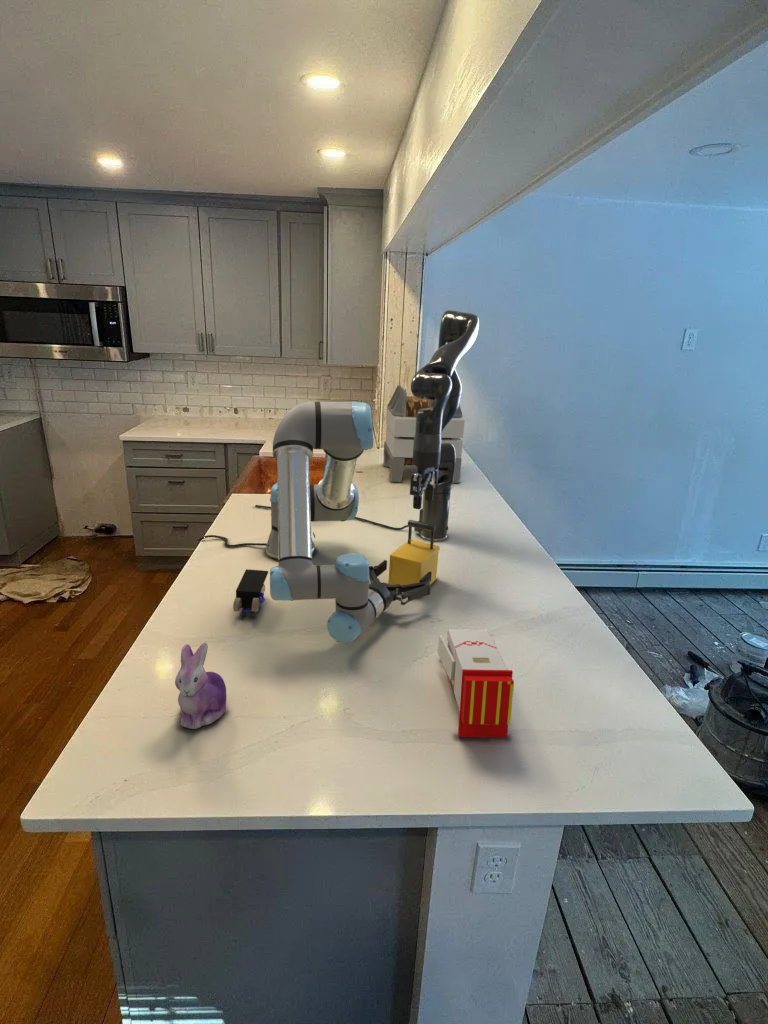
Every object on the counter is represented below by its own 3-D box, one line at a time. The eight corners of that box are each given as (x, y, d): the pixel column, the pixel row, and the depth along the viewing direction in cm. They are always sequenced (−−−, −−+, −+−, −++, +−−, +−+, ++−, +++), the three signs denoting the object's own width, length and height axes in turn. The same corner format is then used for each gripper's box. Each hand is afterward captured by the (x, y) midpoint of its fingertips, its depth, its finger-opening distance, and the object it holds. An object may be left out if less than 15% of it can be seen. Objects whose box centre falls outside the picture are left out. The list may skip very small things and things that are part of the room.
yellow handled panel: (409, 543, 169) (411, 516, 166) (439, 550, 165) (441, 522, 162) (389, 559, 157) (391, 530, 155) (421, 567, 153) (423, 537, 151)
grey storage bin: (382, 463, 289) (386, 382, 275) (445, 464, 293) (451, 384, 279) (390, 482, 257) (394, 392, 243) (460, 483, 261) (468, 394, 247)
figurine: (182, 738, 102) (175, 668, 97) (173, 704, 111) (167, 638, 106) (234, 723, 106) (231, 655, 101) (222, 691, 115) (218, 627, 110)
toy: (488, 613, 130) (523, 677, 101) (484, 667, 133) (517, 744, 104) (435, 612, 130) (455, 676, 101) (432, 666, 133) (451, 743, 103)
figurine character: (260, 625, 142) (270, 591, 155) (258, 600, 138) (268, 567, 152) (233, 624, 141) (245, 590, 155) (230, 599, 138) (243, 567, 152)
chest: (407, 571, 171) (408, 544, 168) (436, 579, 167) (438, 551, 164) (388, 588, 161) (389, 559, 157) (418, 597, 157) (421, 567, 154)
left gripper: (328, 602, 146) (367, 571, 164) (416, 629, 136) (448, 593, 154) (328, 576, 143) (368, 548, 161) (418, 601, 133) (450, 568, 151)
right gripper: (429, 455, 146) (425, 514, 152) (449, 445, 158) (444, 500, 164) (403, 451, 149) (400, 509, 155) (424, 441, 161) (420, 495, 167)
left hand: (407, 570), depth 158 cm, fingers open, 13 cm apart
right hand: (423, 504), depth 159 cm, fingers open, 8 cm apart
